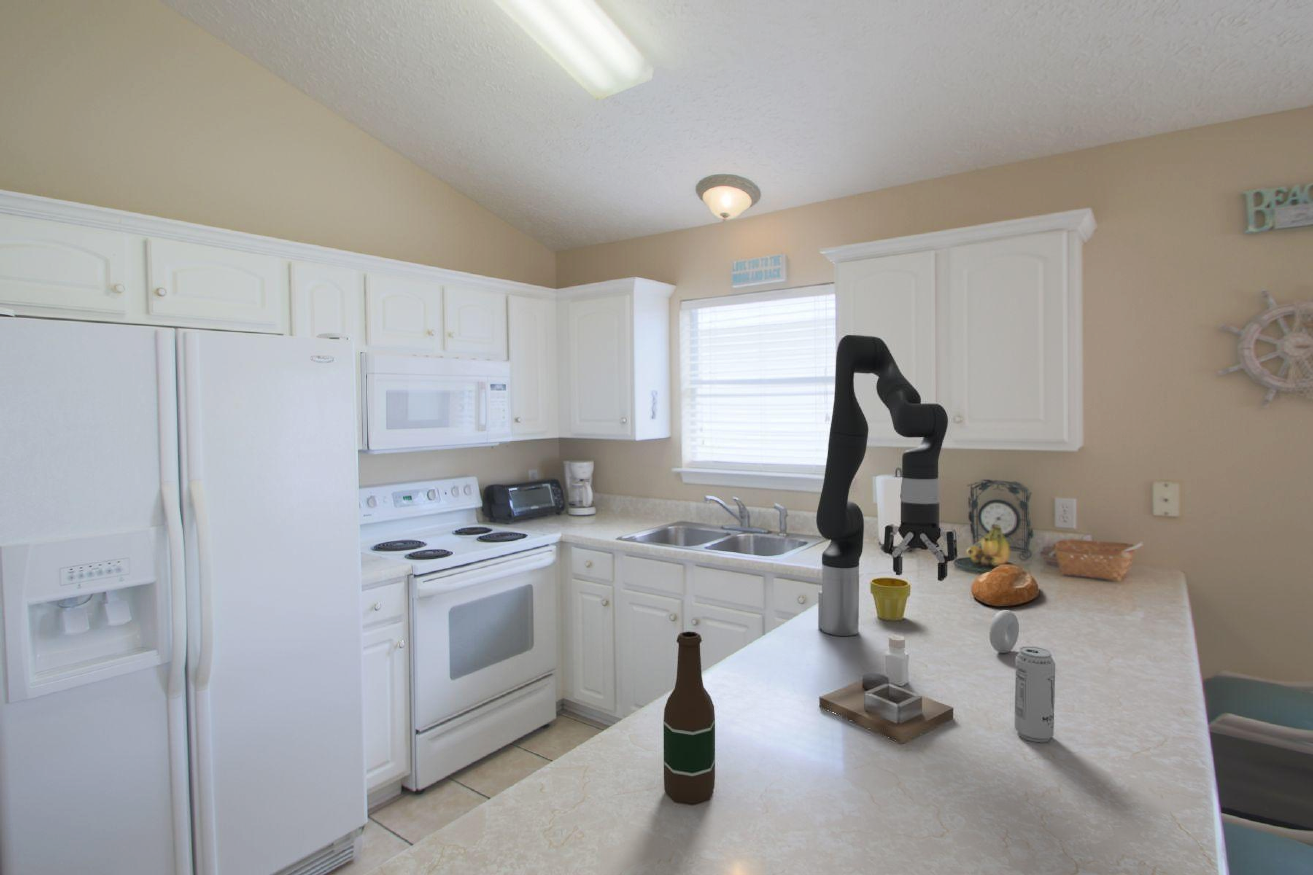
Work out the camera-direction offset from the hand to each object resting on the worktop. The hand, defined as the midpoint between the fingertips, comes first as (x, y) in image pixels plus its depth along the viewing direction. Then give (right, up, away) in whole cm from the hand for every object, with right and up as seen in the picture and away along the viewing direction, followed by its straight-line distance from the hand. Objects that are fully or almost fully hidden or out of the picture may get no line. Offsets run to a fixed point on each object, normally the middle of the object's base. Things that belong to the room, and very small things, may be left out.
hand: (919, 577), depth 141 cm
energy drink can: (+11, -23, -22) cm, 34 cm away
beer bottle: (-50, -24, -39) cm, 68 cm away
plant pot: (+9, -20, +44) cm, 50 cm away
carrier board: (-12, -23, -13) cm, 29 cm away
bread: (+51, -19, +66) cm, 86 cm away
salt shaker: (-5, -22, +1) cm, 23 cm away
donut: (+26, -21, +18) cm, 38 cm away
